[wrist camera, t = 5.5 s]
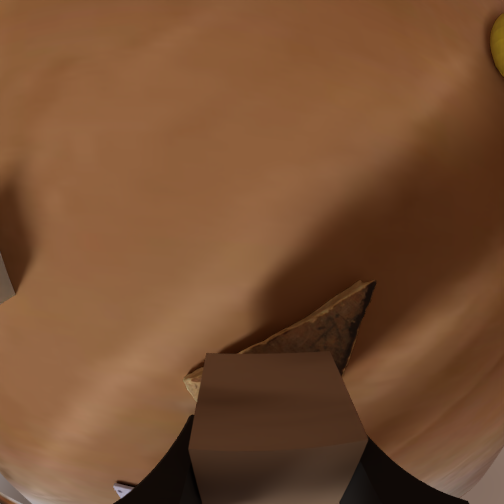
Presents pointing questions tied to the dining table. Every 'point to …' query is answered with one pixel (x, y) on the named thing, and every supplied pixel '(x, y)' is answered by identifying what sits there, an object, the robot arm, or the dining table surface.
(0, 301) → the white cube
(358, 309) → the shard
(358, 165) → the dining table surface
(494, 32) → the lemon
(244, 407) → the walnut block
